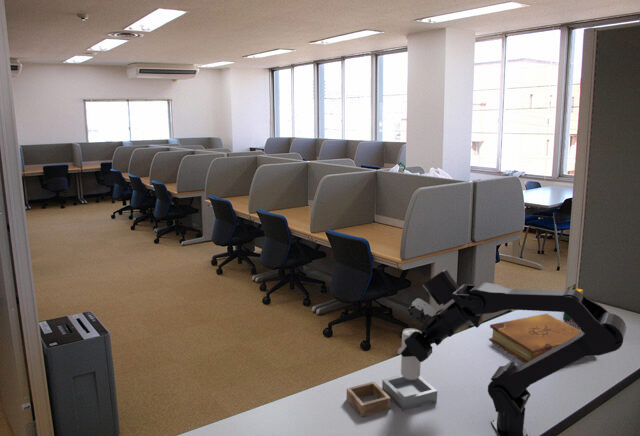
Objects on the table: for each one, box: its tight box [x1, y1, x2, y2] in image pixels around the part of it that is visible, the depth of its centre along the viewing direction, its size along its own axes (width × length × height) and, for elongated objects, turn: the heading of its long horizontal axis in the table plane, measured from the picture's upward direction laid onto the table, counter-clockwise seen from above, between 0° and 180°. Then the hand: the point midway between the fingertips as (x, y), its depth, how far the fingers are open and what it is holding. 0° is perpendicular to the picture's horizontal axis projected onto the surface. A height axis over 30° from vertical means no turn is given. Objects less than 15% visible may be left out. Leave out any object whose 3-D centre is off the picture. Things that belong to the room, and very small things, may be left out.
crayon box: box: [562, 282, 584, 322], centre depth 173 cm, size 7×3×12 cm, turn 131°
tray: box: [381, 374, 438, 412], centre depth 128 cm, size 10×10×3 cm
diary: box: [488, 313, 581, 364], centre depth 154 cm, size 23×19×6 cm
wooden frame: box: [346, 381, 392, 417], centre depth 125 cm, size 8×8×3 cm
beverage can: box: [400, 327, 422, 380], centre depth 126 cm, size 5×5×12 cm
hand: (406, 350), depth 126 cm, fingers closed on beverage can, 5 cm apart
